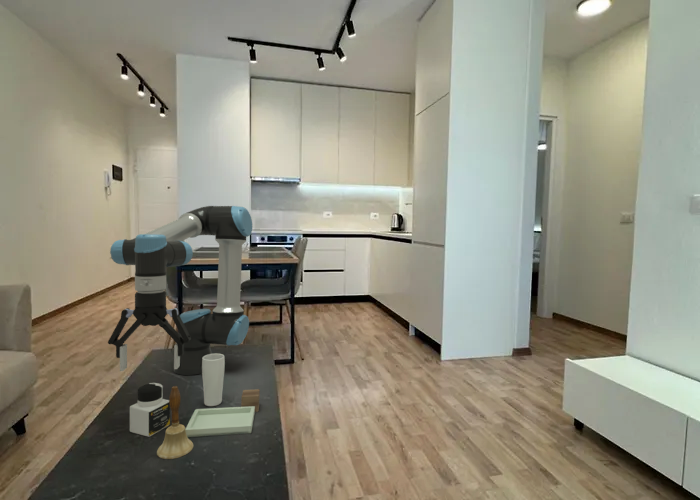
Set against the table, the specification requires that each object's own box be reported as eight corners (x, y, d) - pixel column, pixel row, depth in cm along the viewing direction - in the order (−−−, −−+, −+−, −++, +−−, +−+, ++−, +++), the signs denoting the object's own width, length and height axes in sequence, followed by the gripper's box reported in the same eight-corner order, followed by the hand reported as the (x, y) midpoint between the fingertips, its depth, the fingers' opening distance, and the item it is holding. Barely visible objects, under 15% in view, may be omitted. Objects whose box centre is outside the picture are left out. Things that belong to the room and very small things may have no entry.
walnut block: (243, 405, 119) (243, 390, 119) (259, 404, 120) (259, 389, 120) (241, 413, 115) (241, 396, 114) (258, 412, 115) (258, 396, 115)
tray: (195, 415, 112) (195, 409, 112) (254, 412, 115) (254, 406, 115) (184, 437, 100) (184, 429, 100) (251, 433, 103) (251, 425, 103)
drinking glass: (216, 409, 116) (217, 361, 116) (197, 406, 118) (197, 359, 117) (228, 400, 123) (228, 354, 122) (209, 397, 124) (209, 352, 124)
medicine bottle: (149, 437, 100) (149, 392, 99) (129, 432, 102) (129, 388, 102) (170, 425, 106) (170, 382, 106) (151, 420, 109) (151, 379, 108)
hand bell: (177, 462, 89) (178, 395, 89) (148, 455, 92) (149, 390, 91) (200, 443, 97) (201, 382, 97) (173, 438, 100) (173, 378, 99)
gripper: (93, 293, 97) (93, 375, 98) (196, 293, 101) (195, 371, 102) (106, 289, 104) (106, 365, 105) (202, 289, 108) (201, 362, 109)
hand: (150, 368), depth 103 cm, fingers open, 13 cm apart
